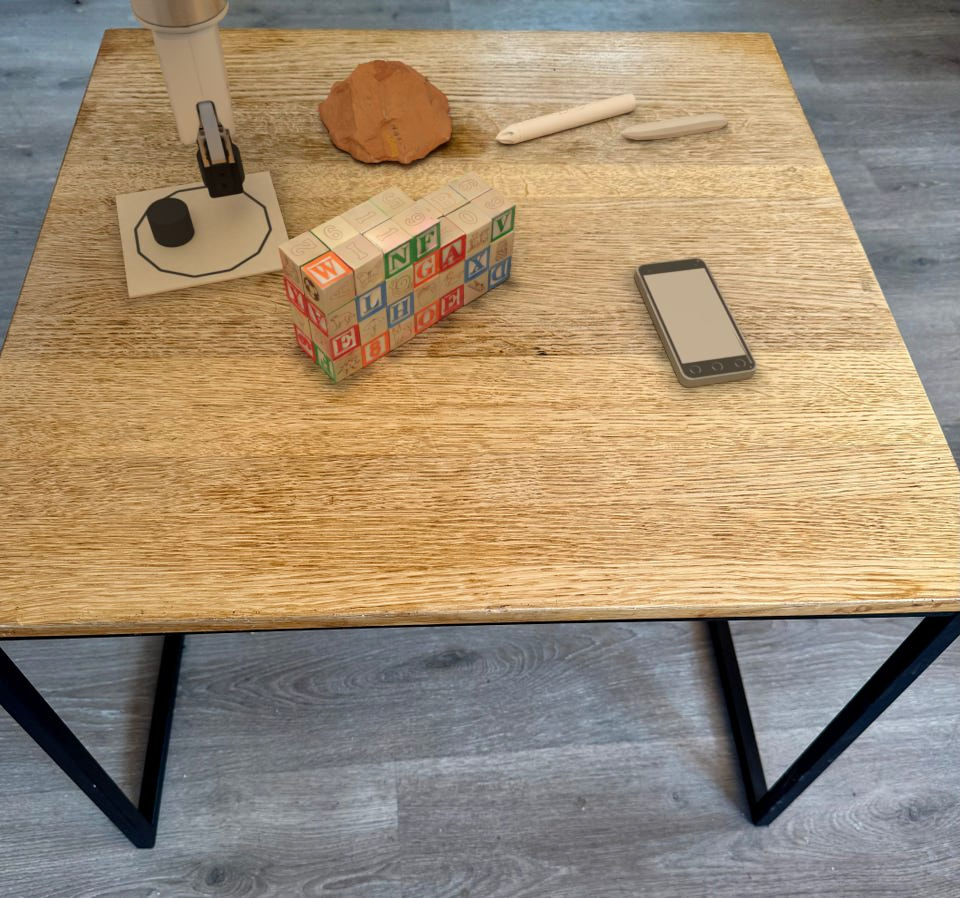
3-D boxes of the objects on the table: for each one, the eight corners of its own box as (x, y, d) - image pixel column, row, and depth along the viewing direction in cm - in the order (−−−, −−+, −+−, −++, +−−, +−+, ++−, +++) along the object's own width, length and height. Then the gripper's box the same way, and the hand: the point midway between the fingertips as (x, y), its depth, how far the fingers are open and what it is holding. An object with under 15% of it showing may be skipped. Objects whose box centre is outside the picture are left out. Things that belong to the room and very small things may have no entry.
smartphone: (684, 380, 79) (633, 265, 87) (682, 388, 80) (631, 273, 88) (760, 370, 80) (703, 256, 88) (756, 377, 81) (700, 264, 89)
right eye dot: (206, 195, 83) (199, 169, 81) (200, 169, 86) (193, 143, 83) (248, 188, 84) (242, 162, 82) (241, 162, 86) (235, 136, 84)
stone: (462, 176, 99) (446, 128, 90) (339, 204, 101) (310, 159, 91) (443, 63, 103) (425, 4, 93) (324, 92, 104) (294, 37, 95)
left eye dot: (156, 251, 87) (148, 227, 84) (151, 224, 89) (143, 200, 86) (197, 243, 88) (190, 220, 85) (192, 217, 90) (185, 194, 87)
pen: (614, 138, 101) (617, 126, 99) (723, 121, 104) (727, 108, 102) (619, 147, 100) (622, 134, 99) (729, 129, 103) (733, 116, 101)
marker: (499, 152, 98) (500, 134, 96) (490, 141, 99) (491, 123, 97) (634, 114, 104) (638, 96, 102) (625, 104, 105) (628, 87, 103)
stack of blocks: (469, 244, 90) (474, 142, 80) (511, 279, 87) (521, 177, 77) (295, 344, 81) (275, 243, 71) (335, 385, 79) (321, 287, 68)
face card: (129, 298, 83) (128, 296, 83) (115, 197, 91) (114, 194, 91) (296, 267, 87) (296, 264, 86) (269, 172, 95) (269, 170, 94)
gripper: (119, -56, 73) (173, 132, 88) (139, 55, 65) (195, 243, 80) (209, -66, 75) (247, 120, 90) (241, 42, 66) (277, 228, 81)
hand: (222, 176), depth 85 cm, fingers closed on right eye dot, 4 cm apart
